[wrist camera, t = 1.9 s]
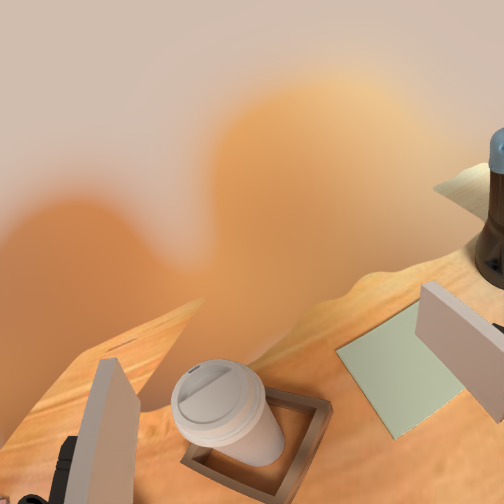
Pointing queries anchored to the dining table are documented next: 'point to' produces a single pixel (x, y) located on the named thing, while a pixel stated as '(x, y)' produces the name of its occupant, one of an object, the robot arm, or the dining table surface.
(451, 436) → the dining table surface
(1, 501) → the notebook
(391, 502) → the dining table surface
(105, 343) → the dining table surface
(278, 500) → the square tray
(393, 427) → the mat
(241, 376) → the coffee cup
